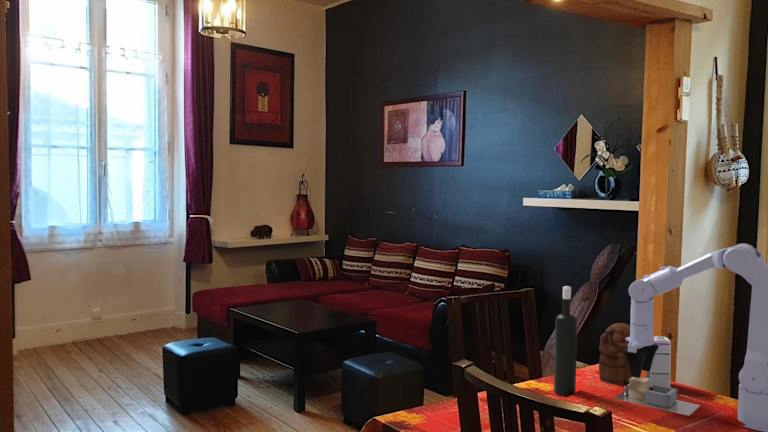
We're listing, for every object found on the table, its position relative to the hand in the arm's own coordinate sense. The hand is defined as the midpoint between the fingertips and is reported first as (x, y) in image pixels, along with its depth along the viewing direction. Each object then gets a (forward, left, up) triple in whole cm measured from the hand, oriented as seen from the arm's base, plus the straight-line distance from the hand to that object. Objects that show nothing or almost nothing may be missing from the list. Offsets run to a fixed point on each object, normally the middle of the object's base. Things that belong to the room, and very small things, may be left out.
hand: (640, 373), depth 171 cm
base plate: (-4, +1, -7) cm, 9 cm away
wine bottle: (+18, +8, -8) cm, 21 cm away
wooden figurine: (+9, -10, -8) cm, 16 cm away
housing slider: (-5, 0, -6) cm, 8 cm away
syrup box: (0, -14, -8) cm, 16 cm away
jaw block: (0, 0, -6) cm, 6 cm away
